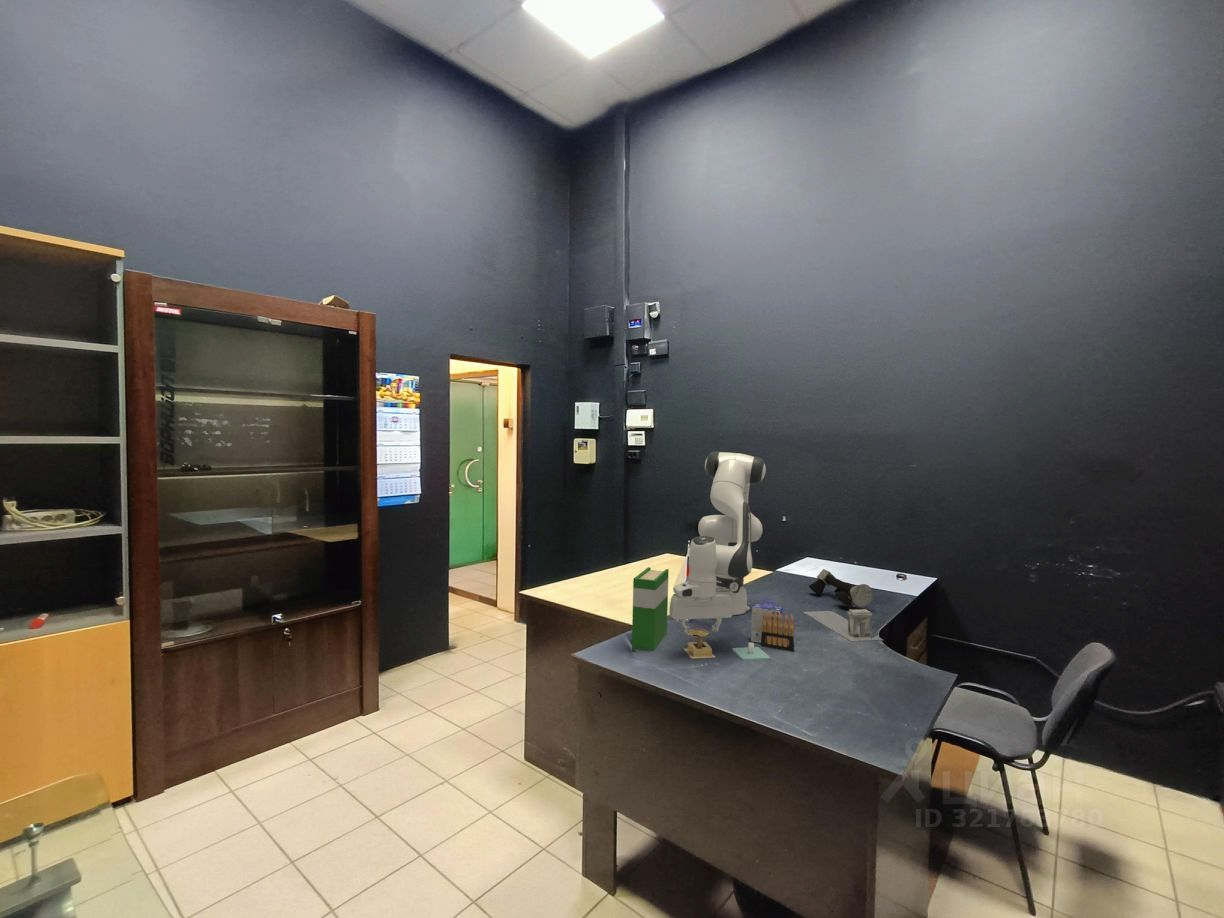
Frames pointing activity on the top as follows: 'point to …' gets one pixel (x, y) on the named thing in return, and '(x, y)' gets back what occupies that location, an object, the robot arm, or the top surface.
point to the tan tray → (699, 649)
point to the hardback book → (649, 609)
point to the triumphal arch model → (847, 624)
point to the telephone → (843, 590)
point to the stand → (699, 644)
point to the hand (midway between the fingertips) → (700, 631)
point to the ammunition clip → (777, 633)
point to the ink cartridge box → (758, 618)
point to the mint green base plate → (751, 653)
